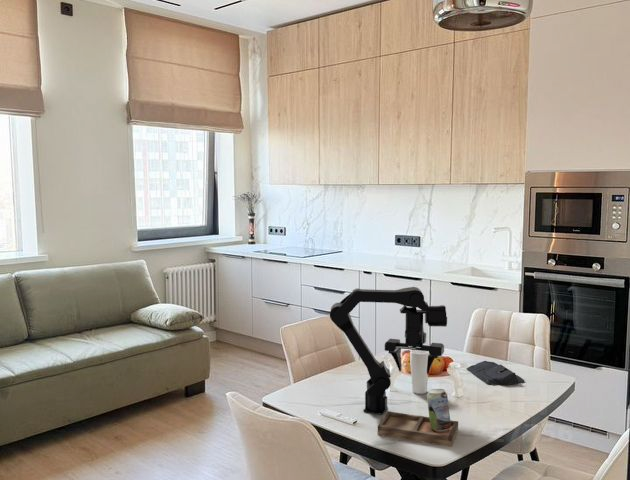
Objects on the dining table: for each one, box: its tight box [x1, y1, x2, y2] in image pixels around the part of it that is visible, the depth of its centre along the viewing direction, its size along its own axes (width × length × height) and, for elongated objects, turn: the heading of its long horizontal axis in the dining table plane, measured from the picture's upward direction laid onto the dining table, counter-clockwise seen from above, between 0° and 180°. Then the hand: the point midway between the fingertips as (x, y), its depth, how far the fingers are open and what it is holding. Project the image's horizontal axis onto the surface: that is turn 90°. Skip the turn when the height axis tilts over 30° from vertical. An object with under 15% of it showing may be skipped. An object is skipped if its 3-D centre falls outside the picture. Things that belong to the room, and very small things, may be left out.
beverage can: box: [426, 388, 451, 431], centre depth 173 cm, size 6×7×12 cm
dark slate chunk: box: [466, 360, 525, 387], centre depth 225 cm, size 15×22×5 cm
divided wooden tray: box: [377, 411, 459, 447], centre depth 175 cm, size 22×12×3 cm, turn 68°
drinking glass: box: [409, 350, 429, 395], centre depth 208 cm, size 7×7×15 cm
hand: (414, 372), depth 190 cm, fingers open, 9 cm apart
